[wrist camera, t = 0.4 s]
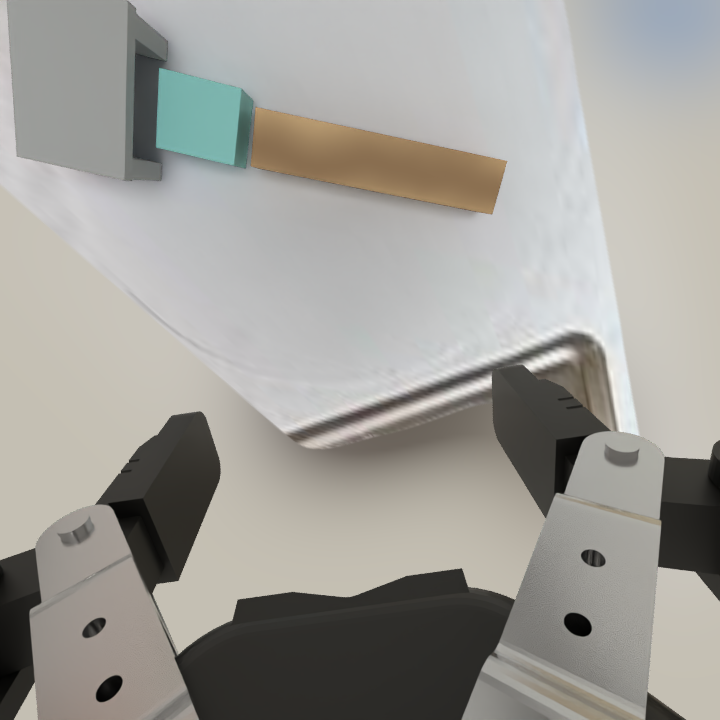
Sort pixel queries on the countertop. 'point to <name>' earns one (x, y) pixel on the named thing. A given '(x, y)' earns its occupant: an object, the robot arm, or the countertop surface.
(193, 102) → the block
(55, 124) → the tunnel
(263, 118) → the rod
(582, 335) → the countertop surface
